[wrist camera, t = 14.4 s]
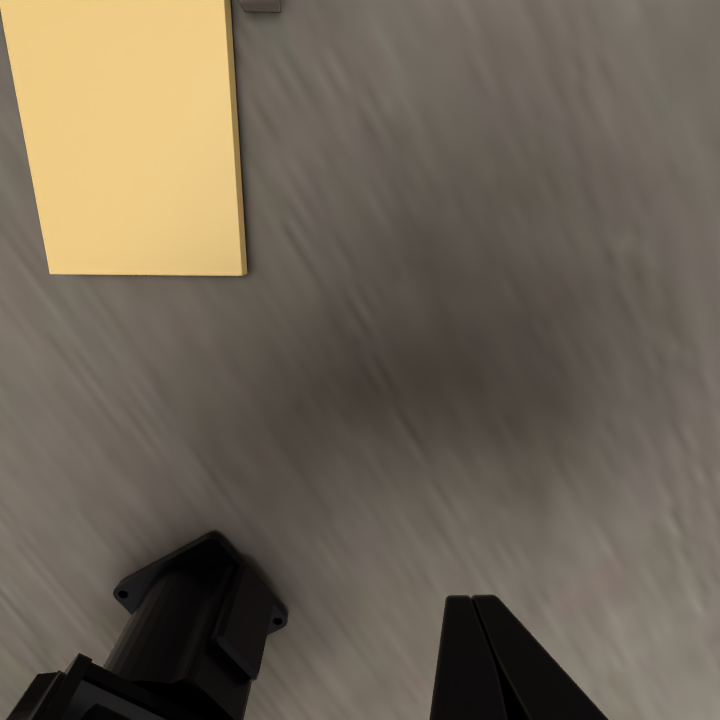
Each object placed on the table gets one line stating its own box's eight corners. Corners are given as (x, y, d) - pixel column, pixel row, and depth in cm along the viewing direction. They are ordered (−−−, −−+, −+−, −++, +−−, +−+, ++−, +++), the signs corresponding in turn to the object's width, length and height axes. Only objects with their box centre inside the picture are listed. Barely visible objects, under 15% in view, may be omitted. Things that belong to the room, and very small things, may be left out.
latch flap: (247, 273, 17) (242, 275, 16) (64, 272, 17) (50, 273, 16) (229, -21, 14) (221, -36, 13) (11, -25, 14) (-9, -39, 13)
